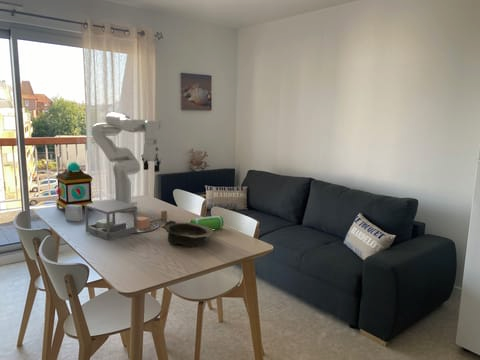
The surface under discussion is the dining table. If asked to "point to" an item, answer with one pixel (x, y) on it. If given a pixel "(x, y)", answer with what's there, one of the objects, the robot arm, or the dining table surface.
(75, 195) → the decorative lantern
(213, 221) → the green tapered cylinder
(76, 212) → the medicine box
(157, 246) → the dining table surface
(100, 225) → the sage block
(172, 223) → the stone bowl
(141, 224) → the tied block
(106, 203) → the lane shelf
